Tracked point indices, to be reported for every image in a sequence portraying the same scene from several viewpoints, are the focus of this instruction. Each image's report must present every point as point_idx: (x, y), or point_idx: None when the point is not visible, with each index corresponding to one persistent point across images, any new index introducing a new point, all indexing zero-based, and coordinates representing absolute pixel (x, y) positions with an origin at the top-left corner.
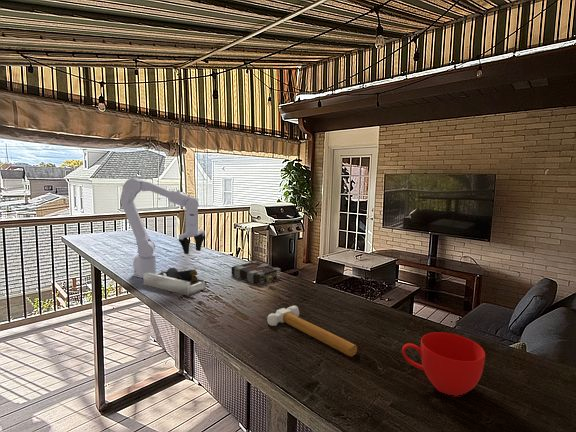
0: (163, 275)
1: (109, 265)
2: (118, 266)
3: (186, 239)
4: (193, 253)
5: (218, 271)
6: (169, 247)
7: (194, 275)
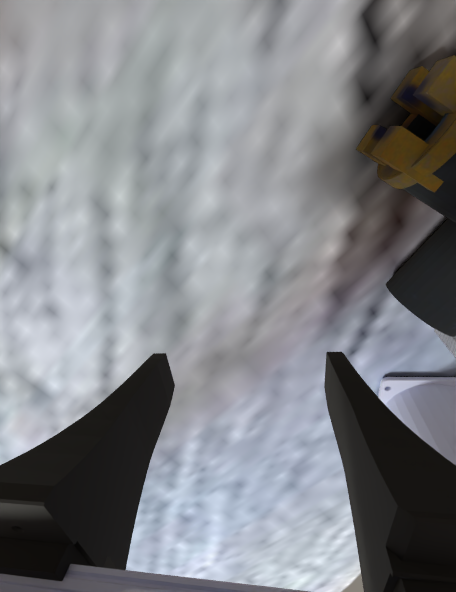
0: None
1: None
2: None
3: (438, 567)
4: None
5: (118, 157)
6: None
7: (371, 151)
